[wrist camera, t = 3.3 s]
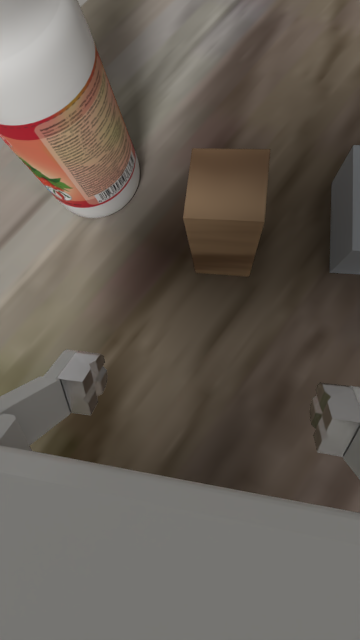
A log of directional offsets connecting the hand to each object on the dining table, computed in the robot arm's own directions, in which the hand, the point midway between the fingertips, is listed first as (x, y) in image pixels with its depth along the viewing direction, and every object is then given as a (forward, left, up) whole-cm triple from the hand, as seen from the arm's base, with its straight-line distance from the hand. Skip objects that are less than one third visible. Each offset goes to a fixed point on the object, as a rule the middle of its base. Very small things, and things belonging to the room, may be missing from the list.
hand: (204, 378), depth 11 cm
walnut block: (+12, 0, -15) cm, 20 cm away
